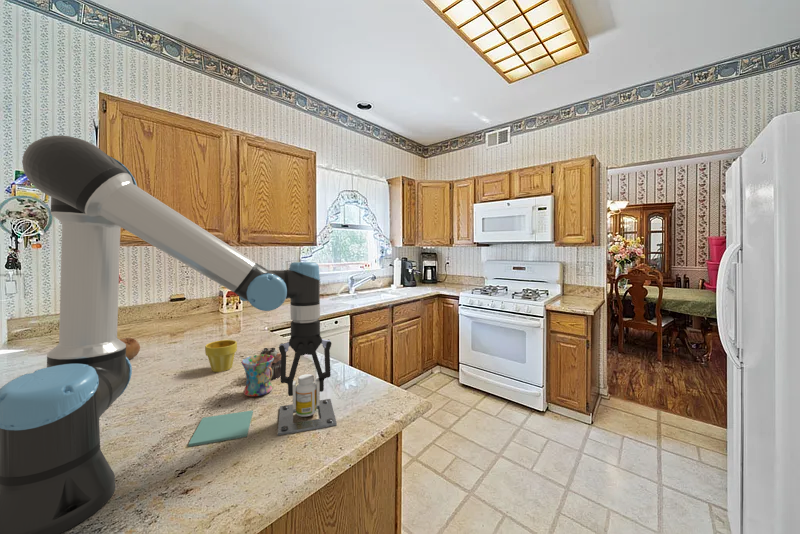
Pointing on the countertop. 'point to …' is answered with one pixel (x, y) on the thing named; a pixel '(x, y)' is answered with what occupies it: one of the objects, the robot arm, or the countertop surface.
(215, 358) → the plant pot
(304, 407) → the supplement bottle
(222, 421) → the mat
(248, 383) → the mug
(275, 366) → the cupcake
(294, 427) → the flange plate
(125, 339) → the brown oval lump
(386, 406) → the countertop surface
